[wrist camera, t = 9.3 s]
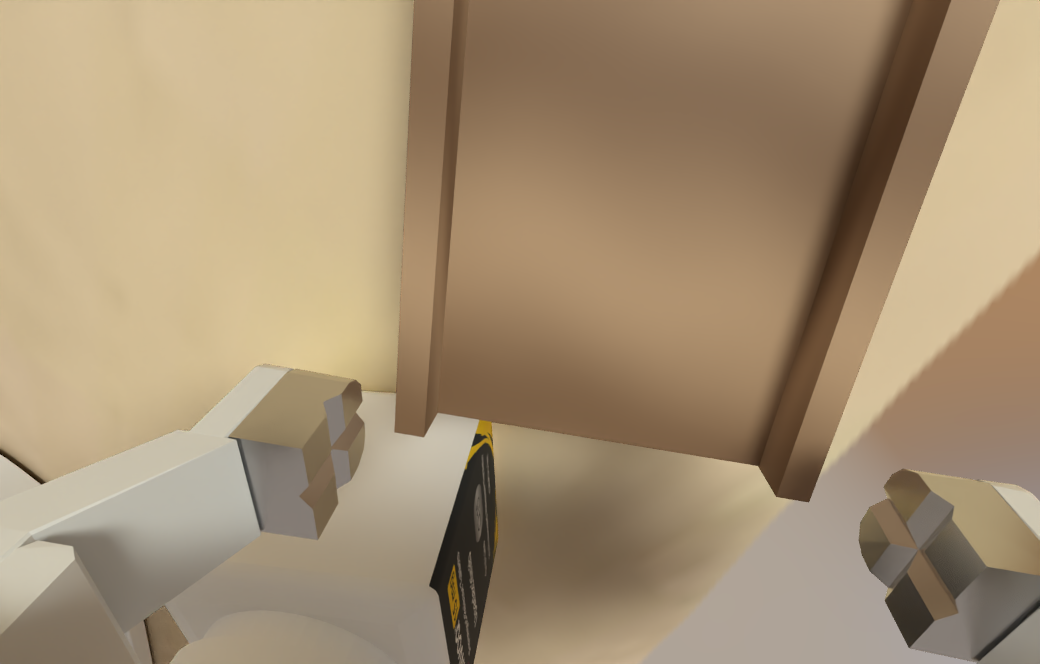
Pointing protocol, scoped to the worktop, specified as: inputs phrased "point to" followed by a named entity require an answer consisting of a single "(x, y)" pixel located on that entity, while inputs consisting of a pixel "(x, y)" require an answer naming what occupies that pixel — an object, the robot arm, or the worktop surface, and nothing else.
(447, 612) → the medicine bottle
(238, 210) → the worktop surface
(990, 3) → the launch ramp
